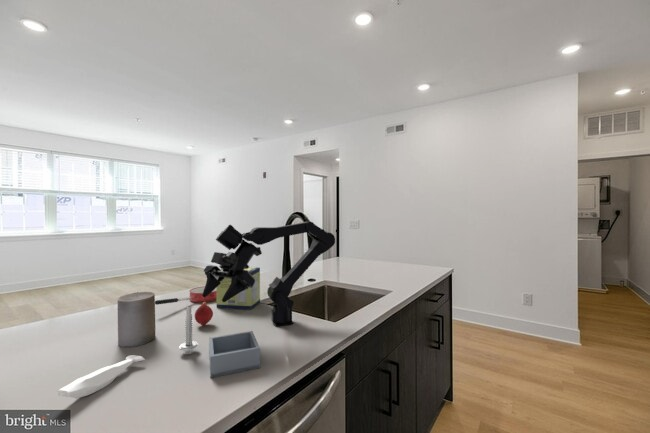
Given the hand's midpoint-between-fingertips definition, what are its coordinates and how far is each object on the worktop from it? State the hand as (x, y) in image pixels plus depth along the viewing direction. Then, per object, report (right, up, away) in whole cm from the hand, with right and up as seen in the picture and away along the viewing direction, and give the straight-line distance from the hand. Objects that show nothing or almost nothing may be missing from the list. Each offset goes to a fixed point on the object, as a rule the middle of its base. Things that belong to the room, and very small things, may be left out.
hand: (212, 299), depth 87 cm
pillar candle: (-24, -13, +1) cm, 27 cm away
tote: (+10, -13, -12) cm, 20 cm away
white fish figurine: (-16, -13, -22) cm, 30 cm away
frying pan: (-24, -13, +36) cm, 45 cm away
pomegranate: (-8, -13, +13) cm, 21 cm away
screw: (-4, -13, -7) cm, 15 cm away
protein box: (-3, -13, +36) cm, 39 cm away
